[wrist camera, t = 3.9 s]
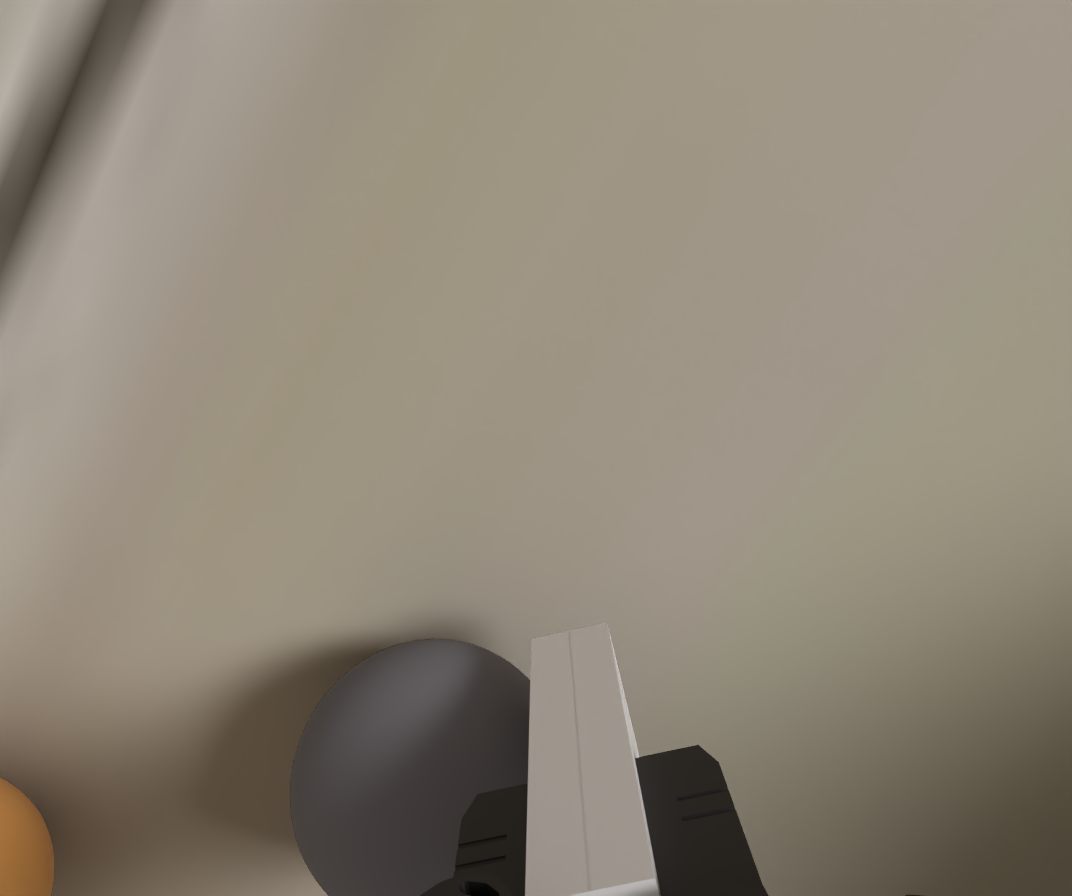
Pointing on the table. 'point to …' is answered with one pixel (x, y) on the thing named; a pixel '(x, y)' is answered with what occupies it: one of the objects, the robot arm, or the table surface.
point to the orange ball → (23, 846)
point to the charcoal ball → (405, 764)
